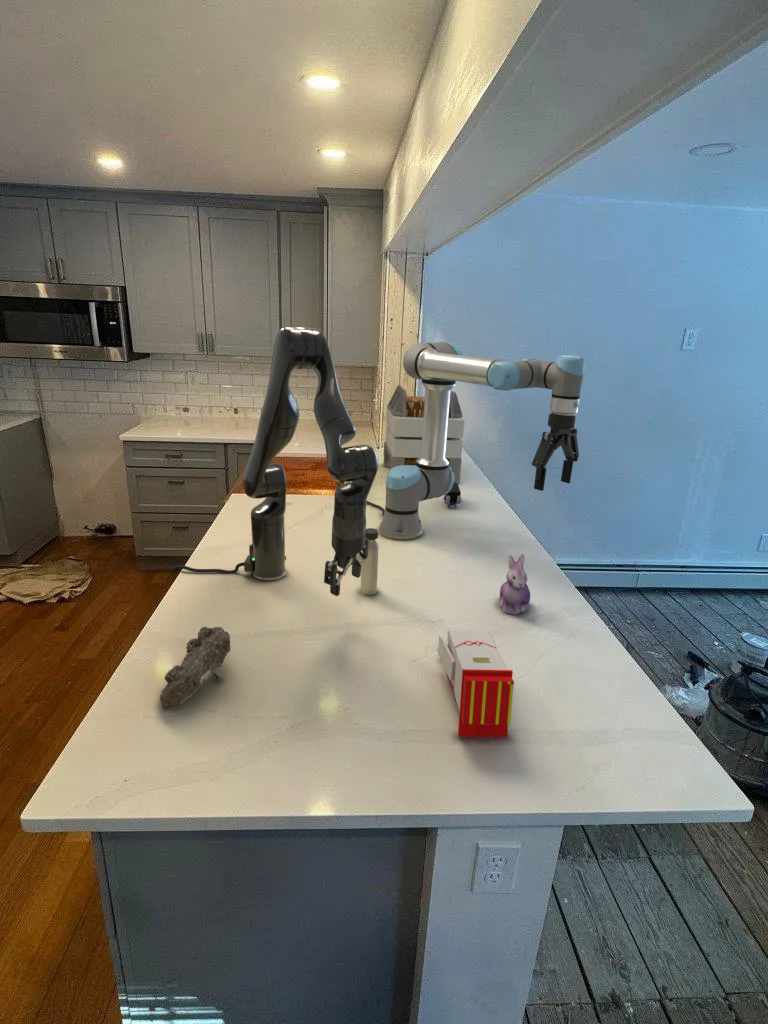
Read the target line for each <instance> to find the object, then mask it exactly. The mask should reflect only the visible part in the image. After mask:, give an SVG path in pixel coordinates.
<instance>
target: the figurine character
mask: <svg viewBox="0 0 768 1024" xmlns="http://www.w3.org/2000/svg"><path fill="white" fill-rule="evenodd" d="M442 499H443V501H444V504H445V505H447V509H450V507H451V506H454V509H457V508H458V506H457V505H461V504H462V496H461V488H460V486H459V483H454V484H453V487H452V489H451V490H450V491H449V492H448V493H447V494H445V495H443V498H442Z"/></svg>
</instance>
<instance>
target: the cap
mask: <svg viewBox="0 0 768 1024" xmlns="http://www.w3.org/2000/svg"><path fill="white" fill-rule="evenodd" d="M365 538H366V539H368V540H375V539H376V540H377V539H378V538H379V529H378V528H377V529H376V528H374V527H366V533H365ZM376 540H375V541H376Z"/></svg>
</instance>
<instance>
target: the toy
mask: <svg viewBox="0 0 768 1024" xmlns="http://www.w3.org/2000/svg"><path fill="white" fill-rule="evenodd" d="M446 640H447V643H446V641H445V639H444V636H443V635H442V634H439V637H438V646H437V656H438V657H439V659H440V661H441V663H442V666H443V668H444V670H445V672H446V674H447V677H448V679H449V681H450V684H451V687H452V690H453V693H454V697H455V701H456V705H457V708H458V711H459V714H458V715H459V716H458V730H457V731H458V732H457V737H458V738H508V731H509V726H510V725H511V717H512V707H513V697H514V696H513V695H514V684H515V680H514V679H513V673H514V671H513V670H512V669H508V667H507V665H506V662H505V661H504V659H503V658H502V655H501V653H500V651H499V649H498V647H497V643H496V639H495V637H494V635H493V634H491V632H490V631H489V629H467V628H466V629H465V628H463V629H461V628H460V629H459V628H448V630H447V639H446Z"/></svg>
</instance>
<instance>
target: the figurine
mask: <svg viewBox="0 0 768 1024" xmlns="http://www.w3.org/2000/svg"><path fill="white" fill-rule="evenodd" d="M507 561H508V562H507V563H508V571H507V573H506V576H505V578H506V581H505V582H504V583H503V584H501V586H500V588H499V589H500V590H499V598H498V605H499V607H500V608H501V609H502V611H503V612H504V613H507V614H511V615H518V614H519V613H525V612H526V611H527V609H528V607H529V604H530V601H531V591H530V588H529V585H528V584H527V582H528V575H527V571H526V570H525V568H524V567H525V566H524V563H525V554H524V553H521V554H520V555H519V557H518V558H517V560H515V559H514V557H513V556H512V555H511V554H509V555H508V556H507Z"/></svg>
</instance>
